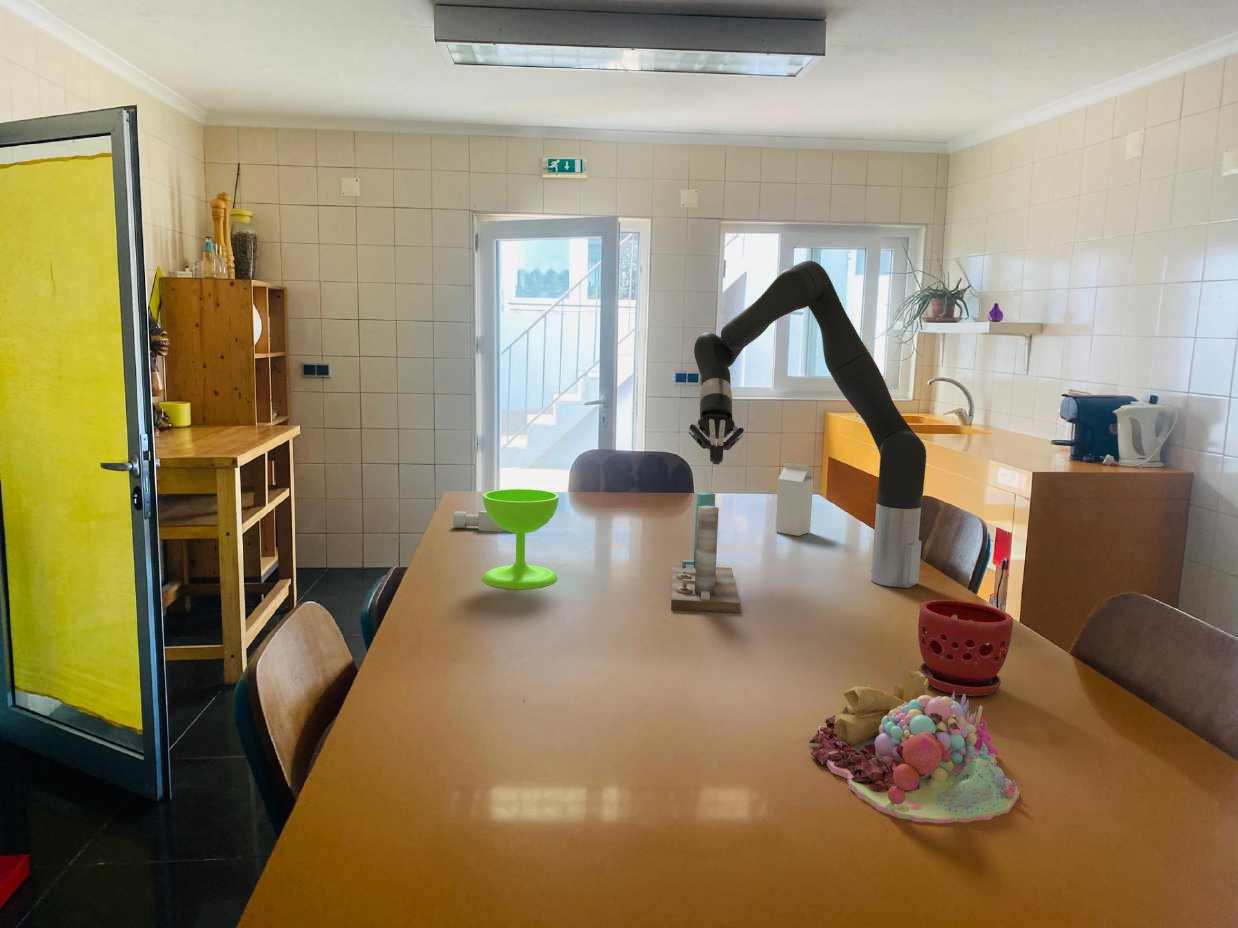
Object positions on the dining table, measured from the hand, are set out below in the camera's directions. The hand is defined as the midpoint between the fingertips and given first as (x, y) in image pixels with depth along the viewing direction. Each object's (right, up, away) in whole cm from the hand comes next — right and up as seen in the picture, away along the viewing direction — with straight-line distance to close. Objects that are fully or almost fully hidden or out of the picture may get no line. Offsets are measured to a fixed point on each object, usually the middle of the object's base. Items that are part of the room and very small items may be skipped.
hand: (716, 462), depth 192 cm
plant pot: (+30, -34, -60) cm, 76 cm away
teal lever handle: (-5, -23, -7) cm, 24 cm away
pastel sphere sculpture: (+15, -38, -86) cm, 95 cm away
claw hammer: (-55, -17, +51) cm, 77 cm away
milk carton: (+26, -19, +45) cm, 55 cm away
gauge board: (-4, -27, -15) cm, 31 cm away
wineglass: (-43, -25, -8) cm, 50 cm away
